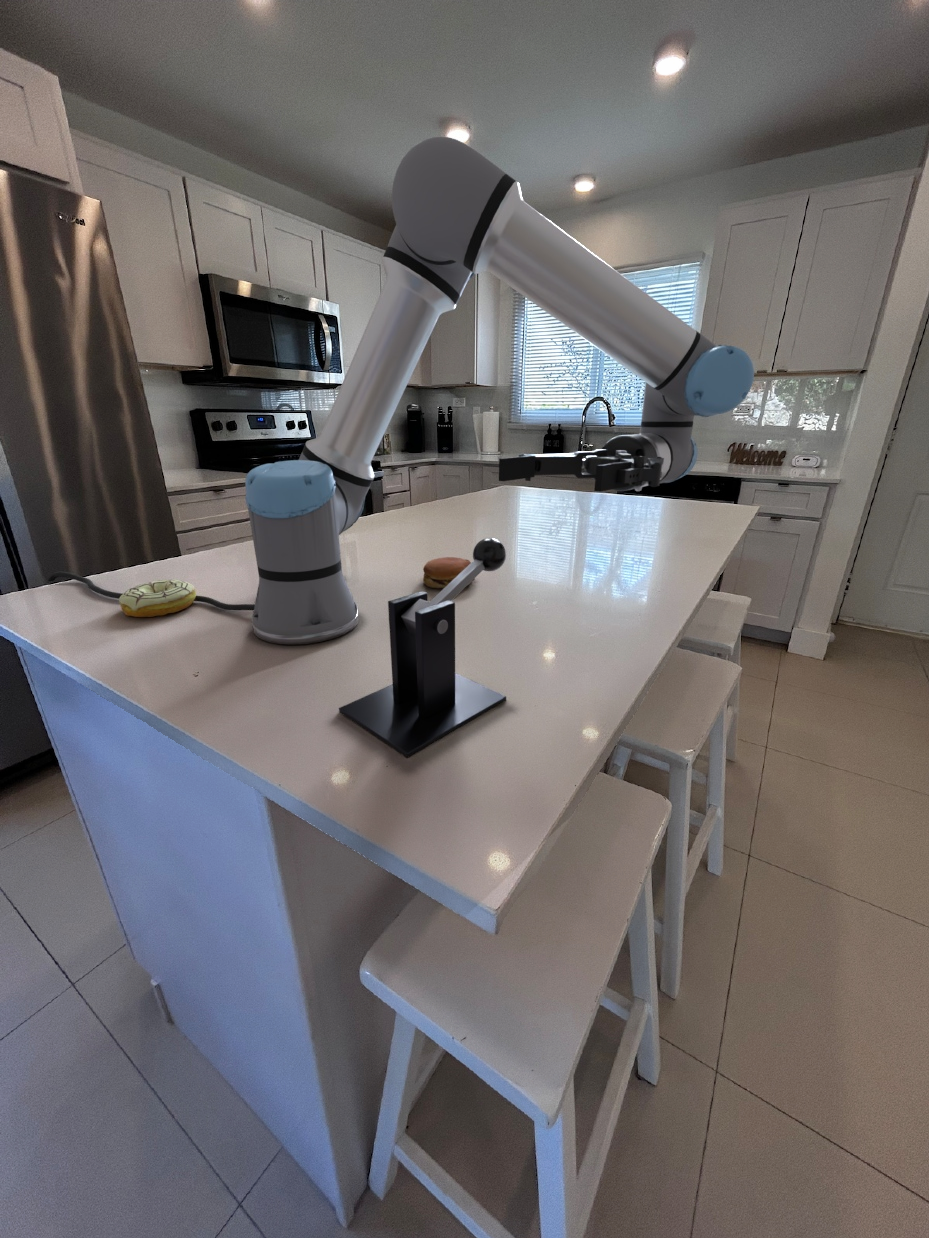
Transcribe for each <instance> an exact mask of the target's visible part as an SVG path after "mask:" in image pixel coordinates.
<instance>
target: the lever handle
mask: <svg viewBox="0 0 929 1238" xmlns="http://www.w3.org/2000/svg"><path fill="white" fill-rule="evenodd" d="M506 558H507V550H506V548H505V546H504V544H503V543H502V542H501V541H500V540H498V539H496V538H493V537H486V538H483V539H481V540H480V541H478V542H477V543H476V545H474V548H473V550H472V559H473V560H472V561H471V564H469V565H468V566H467V567H466V568H465V569H464V570H463V571H462V572H461V573H460V574H459V575H458V576H457V577H456V578H455V579H453V580H452V581H451V582H450V583H449V584H448V585H447V586H446V587H445V588H442V589H441V591H439V593H437V594H436V595H435V596H434V597H433V598H432V599H431V600H430V601H425V600H422V599H419V600H418V601H417V602H416V603H415V604H414V605H413V606H411V607H410V608H409V609H408V610H407V611H406V612H405V613H404V614H403V615H402V616H401V617H402V619H403V621H404V623H405V625H406V627H407V629H408V631H409V633H410V634H412V635H415V636H416V630H415V611H418V610H421V609H424V608H427V607H430V606H433V605H436V604H439V603H442V602H445V601H453V600H454V599H455V598H456V597H457V596H458V595H459V594H460V593H461V592H462V591H463V590H464V589H465V588H466V587H467V586H469V585H470V584H469V583H470V582H471V581H472V580H473V579H474V580H475V579H476V577H478V576H479V575H480V574H481V573H482V572H483V571H485V572H495V571H497V570H499V569H501V567H502V566H503V565H504V563H505V561H506ZM474 580H473V581H474ZM473 581H472V582H473ZM468 584H469V585H468Z"/></svg>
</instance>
